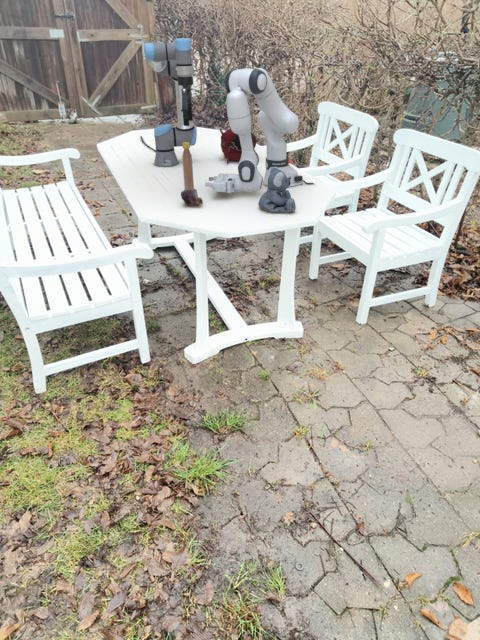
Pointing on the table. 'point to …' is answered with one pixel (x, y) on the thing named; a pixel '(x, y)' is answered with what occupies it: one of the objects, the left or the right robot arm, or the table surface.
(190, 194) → the rock
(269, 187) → the koala plush
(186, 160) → the bottle
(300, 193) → the table surface
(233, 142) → the decorative skull
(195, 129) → the left robot arm
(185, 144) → the cap
